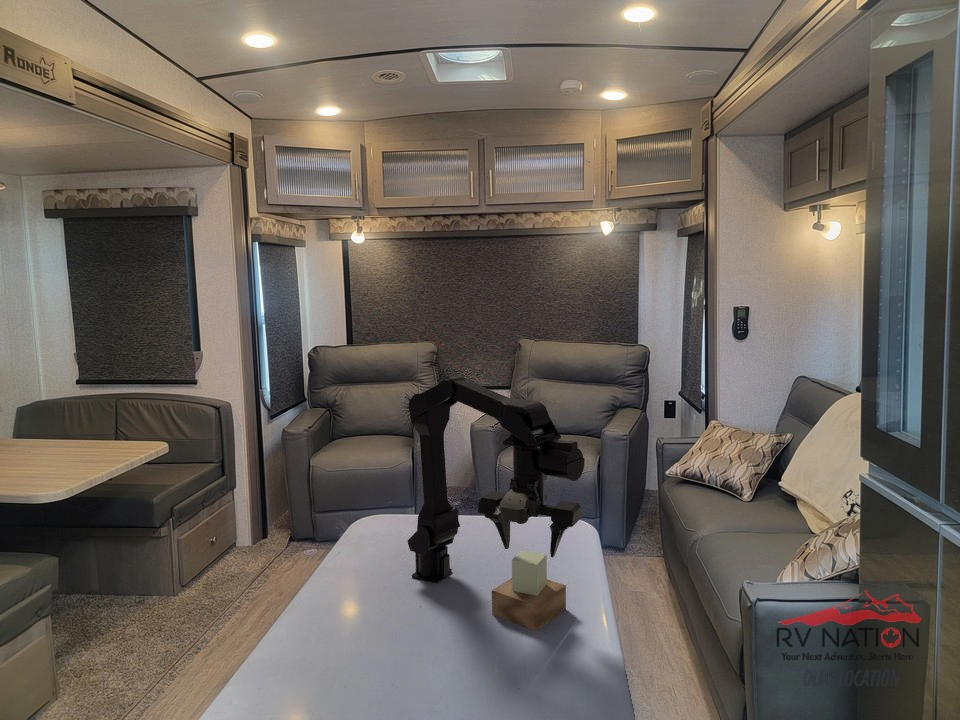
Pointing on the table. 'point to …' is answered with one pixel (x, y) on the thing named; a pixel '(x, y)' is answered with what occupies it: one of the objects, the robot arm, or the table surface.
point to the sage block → (529, 572)
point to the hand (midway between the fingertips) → (529, 552)
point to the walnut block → (529, 604)
